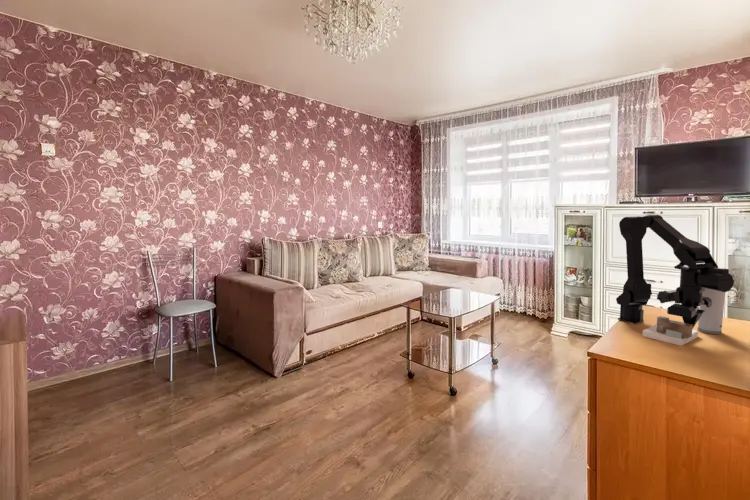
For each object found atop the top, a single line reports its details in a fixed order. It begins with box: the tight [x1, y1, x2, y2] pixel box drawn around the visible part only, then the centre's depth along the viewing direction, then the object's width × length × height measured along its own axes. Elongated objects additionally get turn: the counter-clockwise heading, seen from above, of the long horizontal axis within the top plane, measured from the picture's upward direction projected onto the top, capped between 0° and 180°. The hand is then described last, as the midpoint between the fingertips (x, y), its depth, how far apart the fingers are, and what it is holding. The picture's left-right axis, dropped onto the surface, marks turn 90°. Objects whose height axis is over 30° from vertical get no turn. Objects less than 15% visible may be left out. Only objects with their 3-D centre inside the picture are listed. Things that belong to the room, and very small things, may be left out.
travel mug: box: [697, 288, 726, 335], centre depth 131 cm, size 6×7×20 cm
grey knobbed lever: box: [656, 315, 694, 338], centre depth 125 cm, size 9×3×5 cm, turn 33°
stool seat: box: [641, 323, 699, 346], centre depth 129 cm, size 11×14×4 cm
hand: (688, 331), depth 124 cm, fingers closed
